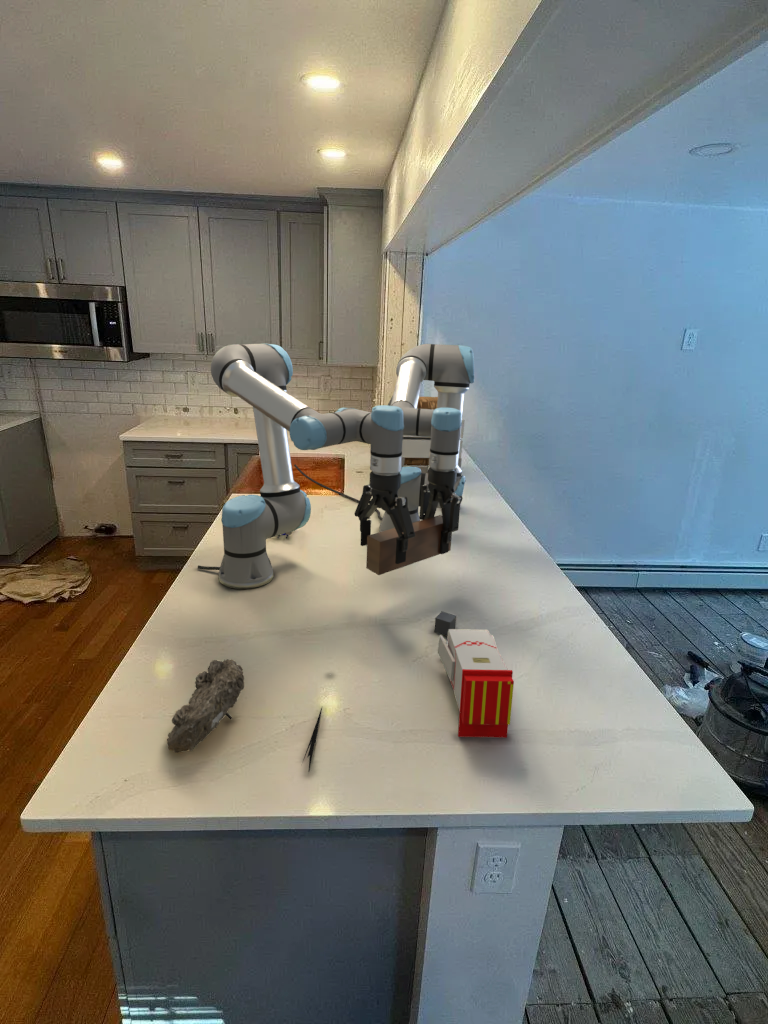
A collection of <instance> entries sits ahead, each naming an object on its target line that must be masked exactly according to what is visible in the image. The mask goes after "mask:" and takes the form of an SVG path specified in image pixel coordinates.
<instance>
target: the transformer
mask: <svg viewBox="0 0 768 1024" xmlns="http://www.w3.org/2000/svg"><path fill="white" fill-rule="evenodd" d="M392 397H393V395H391V398H390V400H389V402H388V404H387V405H388V406H390V405H391V401H392ZM437 400H438V396H419V398H418V404H417V409H434V410H435V409H436V408H437ZM464 429H465V419H464V418H462V425H461V435H460V446H459V457H458V467H459V468H460V469H461V470H462V461H463V460H462V453H463V442H464V441H463V440H462V439H463V438H464V431H465V430H464ZM430 443H431V437H422V436H408V435H403V441H402V467H405V466H406V467H417V466H418V467H429V456H430Z"/></svg>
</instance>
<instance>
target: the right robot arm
mask: <svg viewBox="0 0 768 1024" xmlns="http://www.w3.org/2000/svg"><path fill="white" fill-rule="evenodd" d="M474 356H475V355H474V350H473V348H472V347H470V346H468V345H460V344H440V343H439V344H438V343H435V344H434V343H423V344H419V345H415V346H413V347H412V348H410V349H409V350H408V351H406V352H405V353H404V354H403V355H402V356H401V357H400V358H399V360H398V362H397V365H396V369H395V373H396V382H395V386H394V389H393V394H392V396H393V397H392V396H391V398H392V401H391V405H390V406H396V407H399V408H401V409H402V410H403V418H404V429H403V435H408V436H422V437H431V443H430V456H429V465H428V466H427V467H428V468H427V472H422V469H421V468H420V467H419V466H418V467H417V466H404V467H402V469H401V471H400V474H401V486H400V488H399V489H398V497H407V499H408V509H409V513H410V517H411V521H412V523H414V522H417V521H421V520H424V519H428V518H431V517H435V516H436V513H437V510H438V509H441V510H440V511H441V516H442V519H443V529H444V530H443V531H441V540H440V552H439V555H444V554H447V553H449V551H448V549H449V543H450V542H451V543H452V538H451V534H452V535H453V532H456V531H457V532H458V531H459V527H460V526H459V525H460V516H461V515H460V514H461V504H462V502H463V499H464V498H463V494H464V489H465V484H466V476H465V475H463V474H462V472H463V470H462V468H461V469H460V468H459V467H458V457H459V446H460V439H461V438H460V435H461V425H462V419H463V410H464V399H465V393H466V392H467V391H469V389H470V384H474V383H475V358H474ZM423 381H428V382H429V381H430V382H433V387H434V389H435V391H437V397H438V400H437V408H436V409H435V410H434V409H417V404H418V398H419V397H420V391H421V386H422V382H423ZM293 466H294V467H295V469H296V470H297V471H298V472H299V473H300V474H301V475H302V476H304V477H305V478H306V479H307V480H309V481H310V482H312V483H314V484H315V485H317V486H319V487H321V488H324V489H325V490H328V491H330V492H332V493H335V494H337V495H339V496H342V497H344V498H346V499H349V500H351V501H354V502H355V503H357V504H358V503H359V501H360V499H357V498H354V497H352V496H350V495H347V494H345V493H342V492H340V491H338V490H335V489H333V488H331V487H328V486H327V485H324V484H322V483H320V482H318V481H317V480H315V479H313V478H311V477H309V476H308V475H307V474H306V473H304V472H303V471H302V469H300V468H299V467H298V465H297V464H294V465H293ZM392 509H395V508H394V507H393V508H392ZM374 512H376V513H377V518H378V519H379V520H380V521H381V522H379V527H378V532H382V531H386V530H389V529H393V528H395V527H394V525H393V522H392V520H391V518H390V516H389V515H388V514H387V513H386V511H384V513H383V515H382V516H381V512H380V510H379V509H378V508H377V509H376V510H375V511H374Z"/></svg>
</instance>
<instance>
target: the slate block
mask: <svg viewBox="0 0 768 1024" xmlns="http://www.w3.org/2000/svg"><path fill="white" fill-rule="evenodd" d="M457 618H458V617H457V615H456V614H453V613H449V612H447V611H443V610H441V611H440V612H439V613H438V614H437V615H436V616H435V618H434V627H433V628H434V629H433V633H436V634H439V635H442V636H446V637H448V629H456V625H457Z"/></svg>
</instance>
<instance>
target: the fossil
mask: <svg viewBox="0 0 768 1024" xmlns="http://www.w3.org/2000/svg"><path fill="white" fill-rule="evenodd" d="M243 670H244V669H243V667H242V665H240V664H237V662H236V661H235V660H234V659H232V658H231V659H227V658H226V659H224V660H223V661H222V660H217V659H212V660H211V661H210V663H209V665H208V666H207V671H201V672H199V673H198V674H197V675H196V676H195V680H194V684H195V685H194V687H195V689H194V690H193V693H192V694H191V697H190V698H189V700H188V704H184V705H182V706H181V707H180V709H177V710H176V711H175V713H174V715H173V716H172V718H171V723H172V724H173V727H172V730H171V731H170V732H168V734H167V738H166V741H167V742H166V745H167V749H168V750H169V751H173V752H174V753H176V754H178V753H182V752H188V751H189V752H192V751H193V750H195V748H196V747H197V746H199V744H200V743H201V742H203V741H204V740H205V739H206V738H207V737H208V736H209V735H210V734H211V733H212V732H214V730H215V729H217V727H218V726H219V724H220V722H221V721H222V720H223V719H224V718H225V716H226V717H227V719H229V720H233V717H232V715H230V714H229V710H230V709H231V708H234V706H235V704H236V703H237V702H238V699H239V697H240V695H241V693H242V691H243V690H245V689H244V688H245V675H244V671H243Z"/></svg>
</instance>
